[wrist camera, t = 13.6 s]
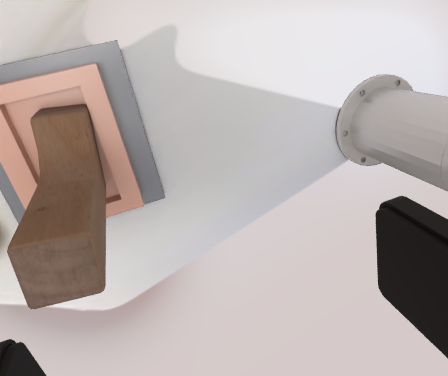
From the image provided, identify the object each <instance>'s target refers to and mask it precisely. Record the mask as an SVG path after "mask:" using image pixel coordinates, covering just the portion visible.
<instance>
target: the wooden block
mask: <svg viewBox="0 0 448 376" xmlns="http://www.w3.org/2000/svg"><path fill="white" fill-rule="evenodd" d="M30 123H31V127H32V131H33V135H34V138H35V142H36V146H37V150H38V159H39V170H40V175H39V181H38V185H37V188H36V190H35V192H34V194H33V196H32V198H31V200H30V202H29V204H28V206H27V209H26V211H25V213H24V215H23V217H22V219H21V221H20V223H19V225H18V227H17V229H16V232H15V234H14V236H13V238H12V240H11V242H10V244H9V246H8V250H7V253H8V256H9V258H10V261H11V263H12V266H13V268H14V271H15V274H16V276H17V279H18V281H19V284H20V287H21V289H22V292H23V294H24V297H25V299H26V302H27V305H28V307H29V308H31V309H37V308H41V307H45V306H49V305H53V304H57V303H62V302H66V301H70V300H74V299H78V298H82V297H86V296H90V295H94V294H98V293H101V292H102V291H104V289H105V265H106V183H105V179H104V174H103V170H102V165H101V161H100V157H99V152H98V148H97V143H96V139H95V134H94V130H93V126H92V121H91V117H90V112H89V110H88V107H87V105H86V104H77V105H69V106H60V107H51V108H42V109H40V110H38V111H37V112H36V113H35V114H34V115H33V116H32V117H31V120H30Z"/></svg>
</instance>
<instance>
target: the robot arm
mask: <svg viewBox="0 0 448 376" xmlns="http://www.w3.org/2000/svg"><path fill="white" fill-rule="evenodd" d="M336 132H337V141H338V144H339V147H340V149H341V151H342V152H343V154H344V155H345V156H346V157H347V158H348V159H349V160H351V161H353V162H355V163H357V164H360V165H366V166H371V165H377V164H380V163H385V164H387V165H389V166H391V167H394V168H396V169H398V170H400V171H403V172H405V173H407V174H409V175H412V176H414V177H416V178H419V179H421V180H423V181H425V182H428V183H430V184H432V185H435V186H437V187H439V188H441V189H444V190H446V191H448V97H445V96H438V95H432V94H427V93H420V92H414V91H413V89H412V87H411V86H410V85H409V84H408V82H407V81H405V80H404V79H402V78H400V77H398V76H395V75H387V74H386V75H377V76H374V77H371V78H369V79H367V80H365V81H363V82H362V83H361V84H359V85H358V86H357V87H356V88H355V89H354V90H353V91H352V92H351V93H350V94H349V96H348V97H347V99H346V100H345V102H344V104H343V106H342V108H341V110H340V113H339V116H338V121H337V127H336ZM376 239H377V265H378V266H377V267H378V286H379V289H380V291H381V293H382V295H383V296H384V297H385V298H386V299H387V300H388V301H389V302H390V303H391V304H392V305H393V306H394V307H395V308H396V309H397V310H398V311H399V312H400V313H401V314H402V315H403V316H404V317H405V318H407V319H408V320H409V321H410V322H411V323H412V324H413V325H414V326H415V327H416V328H417V329H418V330H419V331H420V332H421V333H422V334H423V335H424V336H425V337H426V338H427V339H428V340H429V341H430V342H431V343H433V344H434V345H435V346H436V347H437V348H438V349H439V350H440V351H441V352H442V353H443V354H444V355H445V356H446V357H447V358H448V219H446V218H444V217H442V216H440V215H439V214H437V213H435V212H433V211H431V210H429V209H427V208H426V207H424V206H422V205H420V204H418V203H416V202H414V201H412V200H411V199H409V198H407V197H404V196H399V197H396V198H394V199H391V200H388V201H385V202H383V203H382V204H381V205H380V207H379V210H378V211H377V212H376ZM0 376H46V374H45V373H44V372H43V370H42V369H41V368H40V366H39V364H38V363H37V361H36V360H35V359H34V357H33V356H32V354H31V353H30V351H29V350H28V349H27V347H26V346H25V345H24V343H22V342H19V343H16V342H15V341H14V340H11V339H9V340H6V341H3V342H0Z"/></svg>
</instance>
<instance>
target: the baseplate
mask: <svg viewBox="0 0 448 376" xmlns="http://www.w3.org/2000/svg"><path fill="white" fill-rule="evenodd" d="M77 104H86V105H87V107H88V110H89V112H90V117H91V121H92V126H93V130H94V134H95V139H96V143H97V148H98V152H99V157H100V161H101V165H102V170H103V174H104V179H105V183H106V217H110V216H113V215H116V214H119V213H122V212H126V211H129V210H132V209H135V208H138V207H142V206H144V204H147V203H150V202H153V201H157V200H160V199H163V198H165V196H164V192H163V189H162V186H161V183H160V179H159V176H158V173H157V169H156V166H155V163H154V160H153V156H152V153H151V150H150V147H149V143H148V140H147V137H146V133H145V130H144V127H143V124H142V120H141V117H140V114H139V111H138V107H137V104H136V101H135V98H134V94H133V91H132V88H131V84H130V81H129V78H128V75H127V71H126V68H125V65H124V62H123V58H122V55H121V52H120V48H119V45H118V42H117V40H115V41H110V42H106V43H102V44H97V45H92V46H87V47H83V48H78V49H74V50H69V51H64V52H60V53H55V54H51V55H46V56H41V57H37V58H32V59H28V60H23V61H18V62H14V63H9V64H4V65H0V190H1V192H2V194H3V196H4V198H5V199H6V201H7V203H8V205H9V207H10V209H11V210H12V212H13V214H14V216H15V218H16V220H17V222H18V223H20V221H21V219H22V217H23V215H24V213H25V211H26V209H27V206H28V204H29V202H30V200H31V198H32V196H33V194H34V192H35V190H36V188H37V185H38V181H39V175H40V170H39V159H38V150H37V146H36V142H35V138H34V135H33V131H32V127H31V123H30V120H31V117H32V116H33V115H34V114H35V113H36V112H37V111H38V110H40V109H42V108H51V107H60V106H69V105H77Z"/></svg>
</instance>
